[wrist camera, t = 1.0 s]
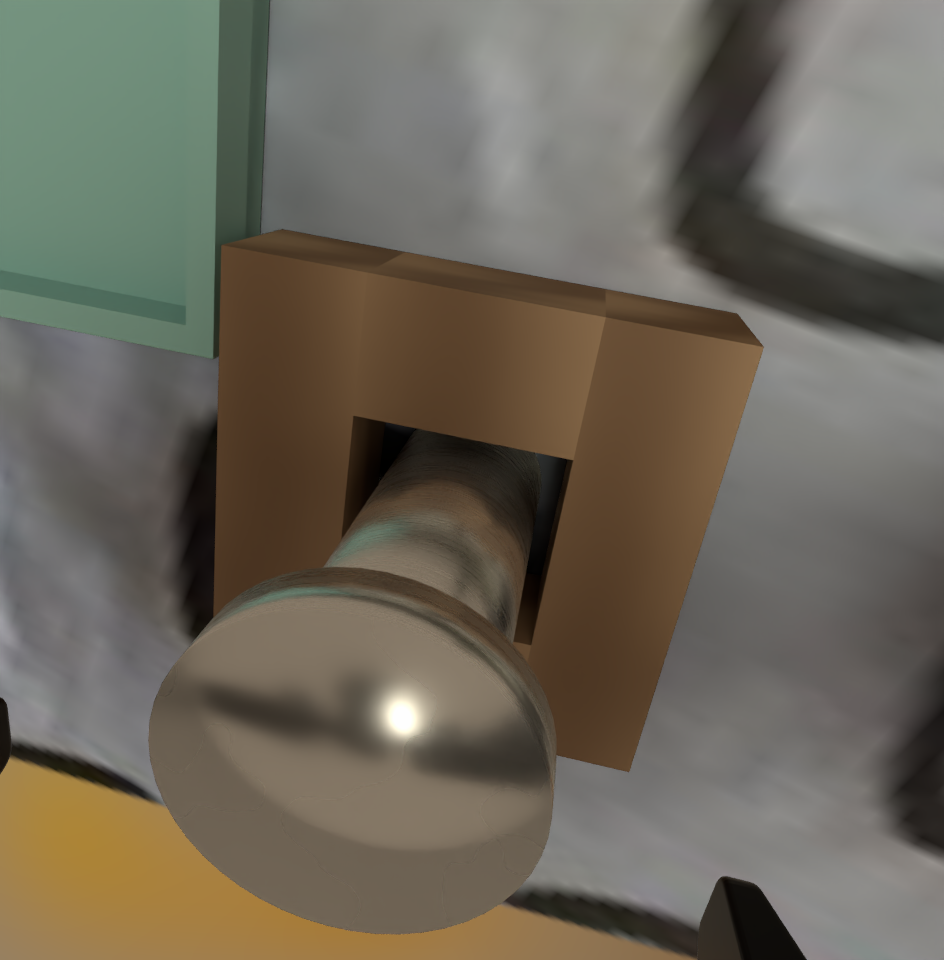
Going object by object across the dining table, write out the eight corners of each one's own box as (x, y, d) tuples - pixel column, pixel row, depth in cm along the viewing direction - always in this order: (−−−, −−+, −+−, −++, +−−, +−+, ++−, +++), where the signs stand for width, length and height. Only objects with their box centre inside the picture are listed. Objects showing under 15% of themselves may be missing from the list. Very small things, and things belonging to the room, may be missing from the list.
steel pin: (599, 398, 18) (594, 668, 9) (553, 592, 20) (511, 972, 11) (376, 354, 18) (144, 567, 9) (355, 549, 20) (151, 880, 11)
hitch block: (737, 313, 16) (763, 347, 14) (625, 688, 21) (629, 772, 18) (281, 228, 17) (221, 245, 14) (262, 607, 21) (212, 674, 19)
